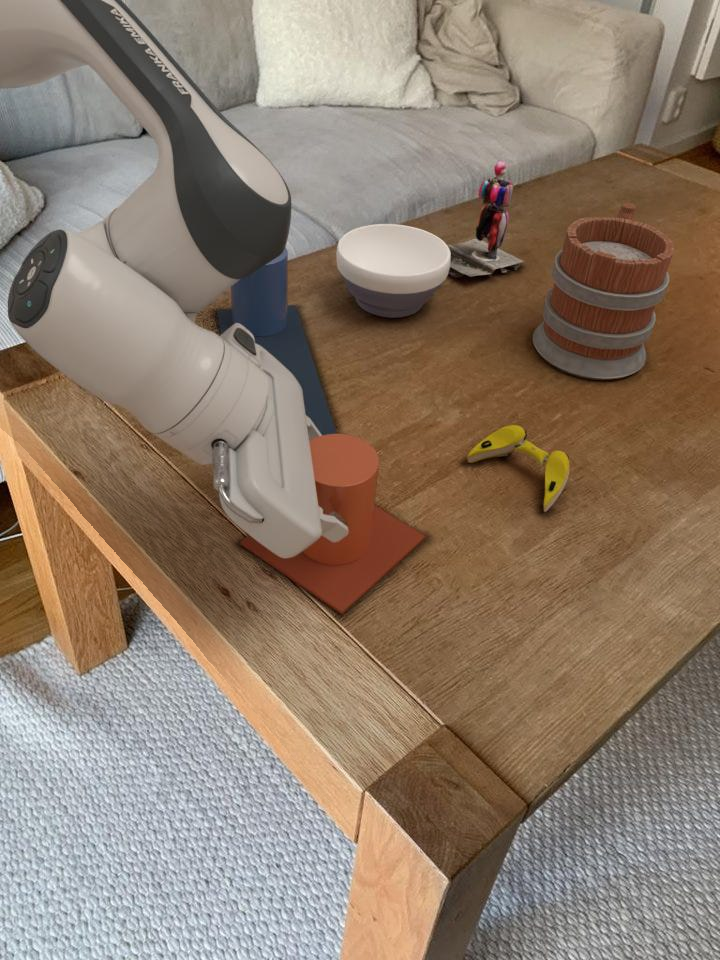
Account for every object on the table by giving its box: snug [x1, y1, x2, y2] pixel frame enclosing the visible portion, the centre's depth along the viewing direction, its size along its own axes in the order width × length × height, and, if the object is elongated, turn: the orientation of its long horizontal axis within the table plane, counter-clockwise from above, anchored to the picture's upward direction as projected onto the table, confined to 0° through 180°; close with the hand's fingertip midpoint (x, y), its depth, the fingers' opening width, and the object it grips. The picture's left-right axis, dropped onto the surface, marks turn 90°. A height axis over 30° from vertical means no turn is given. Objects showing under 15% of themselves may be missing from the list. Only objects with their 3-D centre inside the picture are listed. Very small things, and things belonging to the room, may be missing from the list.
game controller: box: [466, 424, 570, 513], centre depth 83 cm, size 10×6×4 cm, turn 45°
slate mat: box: [216, 304, 338, 435], centre depth 94 cm, size 30×10×1 cm, turn 13°
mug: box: [532, 202, 675, 381], centre depth 99 cm, size 14×19×15 cm
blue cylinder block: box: [230, 246, 289, 337], centre depth 98 cm, size 7×7×10 cm
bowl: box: [335, 223, 451, 319], centre depth 105 cm, size 14×14×8 cm
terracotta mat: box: [240, 505, 426, 615], centre depth 75 cm, size 12×12×1 cm
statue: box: [446, 160, 525, 278], centre depth 113 cm, size 11×9×15 cm
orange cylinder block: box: [302, 433, 380, 565], centre depth 72 cm, size 7×7×10 cm
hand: (335, 493), depth 70 cm, fingers open, 8 cm apart
